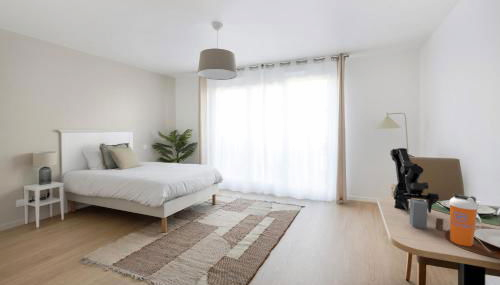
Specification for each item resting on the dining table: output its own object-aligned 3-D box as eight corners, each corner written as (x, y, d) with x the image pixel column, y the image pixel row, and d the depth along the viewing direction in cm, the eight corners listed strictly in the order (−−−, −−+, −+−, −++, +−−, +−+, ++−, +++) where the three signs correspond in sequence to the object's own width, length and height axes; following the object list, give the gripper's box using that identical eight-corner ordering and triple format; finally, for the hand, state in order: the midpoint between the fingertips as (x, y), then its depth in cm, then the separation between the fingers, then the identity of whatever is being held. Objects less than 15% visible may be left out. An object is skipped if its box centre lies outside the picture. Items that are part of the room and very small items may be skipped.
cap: (409, 222, 119) (410, 198, 118) (422, 224, 117) (423, 200, 117) (412, 226, 114) (413, 201, 113) (426, 228, 112) (427, 203, 111)
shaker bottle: (448, 235, 104) (450, 191, 103) (476, 242, 98) (479, 196, 97) (446, 242, 98) (448, 195, 97) (475, 250, 92) (478, 200, 91)
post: (435, 228, 112) (436, 218, 111) (436, 227, 113) (437, 217, 113) (442, 230, 110) (442, 220, 109) (443, 229, 111) (443, 219, 111)
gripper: (395, 174, 122) (400, 201, 112) (438, 177, 116) (447, 205, 106) (391, 186, 130) (395, 212, 120) (431, 189, 123) (439, 217, 113)
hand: (418, 211), depth 114 cm, fingers open, 9 cm apart
